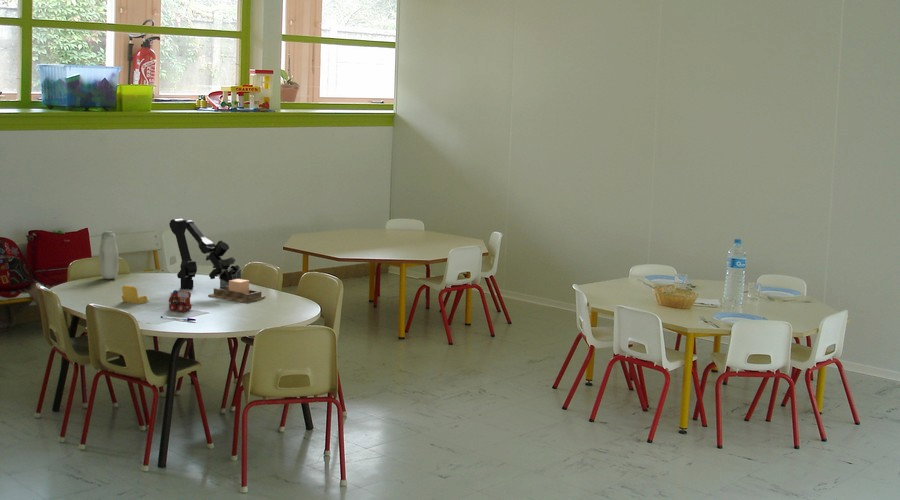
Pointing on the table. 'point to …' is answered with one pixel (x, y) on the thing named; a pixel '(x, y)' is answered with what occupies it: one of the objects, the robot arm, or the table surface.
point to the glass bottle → (108, 255)
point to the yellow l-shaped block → (132, 295)
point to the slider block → (239, 285)
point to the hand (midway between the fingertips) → (232, 284)
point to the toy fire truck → (180, 301)
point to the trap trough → (236, 295)
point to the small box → (235, 276)
